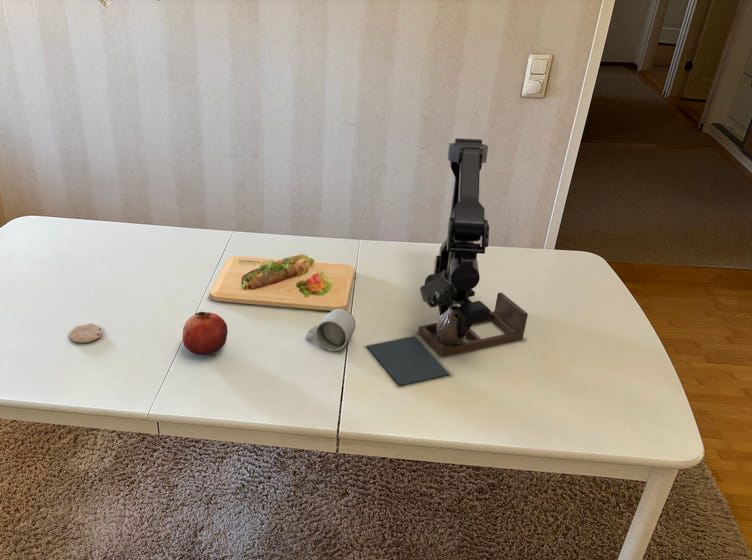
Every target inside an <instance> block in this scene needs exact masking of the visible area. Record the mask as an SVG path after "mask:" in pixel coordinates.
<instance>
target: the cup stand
mask: <svg viewBox="0 0 752 560" xmlns="http://www.w3.org/2000/svg"><path fill="white" fill-rule="evenodd" d="M528 316H529V313H528V312H527V311H525V310H524V309H523V308H522V307H520V306H519V305H518V304H517V303H515V302H514V300H512V299H510V298H509V297H508V296H507V295H505V294H504V293H503V292H502V291H501V292H497V296H496V302H495V306H494V310H493V311H491V315H490V319H489V320H487V321H482V322H477V323H474V324H473V325H478V324H479V325H480V324H484V323H488V322H489V323H490V322H492V323H493V324H495V325H496V326H497V327H498V328H499V329H500V330H501V331H502V332H503V333H502V334H498V335H493V336H489V337H488V336H487V337H484V338H481V337H480V336H479V335H478V334H477V333H476V332H475V331H474V330H472V328H470V329H469V330H468V331H467V334H466V336H465V338H466V339H467V340H469V341H464V342H460V343H458V344H455V345H445V346H444V345H443V344H442V342H441V341H439V339H437V338H436V337H435V336H434V335H433V334H435V333H437V331H436V327H437V322H434V323H429V324H424V325H419V328H418V334H419V336H420V337H421V338H422V339H423V340H424V341H425V342H426V343H427V344H428V345H429V346H430V347H431V348H432V349H433V351H435V353H437V354H438V355H439V357H441V358H444V357H448V356H454V355H459V354H463V353H466V352H467V353H468V352H472V351H476V350H480V349H486V348H490V347H495V346H499V345H505V344H509V343H514V342H517V341H518V342H519V341H522V340H523V338H524V335H525V330H526V325H527V320H528ZM473 325H472V326H473Z"/></svg>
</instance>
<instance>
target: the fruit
mask: <svg viewBox="0 0 752 560" xmlns="http://www.w3.org/2000/svg"><path fill="white" fill-rule="evenodd" d="M228 332H229V331H228V325H227V322H226V321H225V320H224V319H223V318H222V316H220V315H219V314H217V313H215V312H211V311H210V312H209V311H198V312H195V314H193V315H191V316H190V317H189V318H188V319H187V320H186V321H185V323H184V325H183V328H182V335H181V336H182V338H181V339H182V344H183V346H184V348H185V349H187V351H189V352H190V353H191V354H193V355H196V356H210V355H213V354H216V353H217V352H219V351H220V350H221V349H222V348H224V347H225V345H226V343H227V339H228Z"/></svg>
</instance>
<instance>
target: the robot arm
mask: <svg viewBox="0 0 752 560" xmlns="http://www.w3.org/2000/svg"><path fill="white" fill-rule="evenodd" d="M488 150H489V145H488V144H484V143H483V139H482V138H481V139H480V138H458V137H457V138H455V137H454V141H453V142H449V143H448V150H447V160H448V161H449V167H450V169H451V171H452V173H453V176H454V181H453V189H452V196H451V198H452V199H451V204H450V205H451V206H450V214H449V219H448V225H447V237H446V239H445V240H444V242H443V243H442V244H441V245H440V247H439V252H438V255H436V256H435V260H434V262H433V263H434V264H433V273H432V274H428V276H426V278H425V279H424V284H423V285H421V286H420V288H419V290H420V294H421V298H422V301H423V302H425V304H427V305H428V307H430V308H431V309H432V308H436V307H438V312H439V317H440V316H441V315H442V314H443V313H444V312H445V311H447V310H448V309H449V307H450V306H453V305H454V304H458V305H459V308H458V310H457V314H454V316H455V317H456V318H457V319H458V331H457V334H458V338H462V337H463V336H464V335H465V334H466V332H467V331H468V330H469V329H472V327H473V324H474V323H477V322H482V321H487V320H489V319H490V315H491V312H492V310H491V309H490V308H489V307H488V306H486V305H485V303H484V302H482V301H481V300H476V301H472V300H471V299H470V298H471V297H475V295H476V292H475V291H474V288H476V287H477V285H478V284H479V282H480V277H481V276H480V270H479V263H478V262H479V261H478V257H477V256H478V254H479V255H480V254H482V255H485V254H486V248H488V247H489V239H490V225H489V221H488V219H486V218H485V216H486V215H485V207H484V206H483V205H482V203H481V202H480V200H479V199H480V174H481V173H480V172H481V170H482V166H483V164H484V163H487V158H488ZM480 241H481V243H475V242H480ZM474 325H475V324H474Z"/></svg>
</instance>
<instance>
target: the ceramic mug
mask: <svg viewBox="0 0 752 560" xmlns="http://www.w3.org/2000/svg"><path fill="white" fill-rule="evenodd" d="M356 324H357V323H356V318H355V316H354V315H353V313H351V312H350V311H348V310H347V309H335V310H333V311H329V312H328V313H327V314H326V316H324V318H323V319H321V321H320V322H319V323H318V324H317V325H315V326H313V327H311V328H310V329H309V330H307V333H306V336H307V338H308V339H309V341H316V342H317V343H318V344H319V346H321V347H322V348H323V349H325V350H327V351H330V352H338V351H340V350H342V349H343V348H344V347H345V346H347V343H348V342H349V341H350V339H351V337H352V336H353V334H354V332H355V330H356V326H357V325H356Z"/></svg>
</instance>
